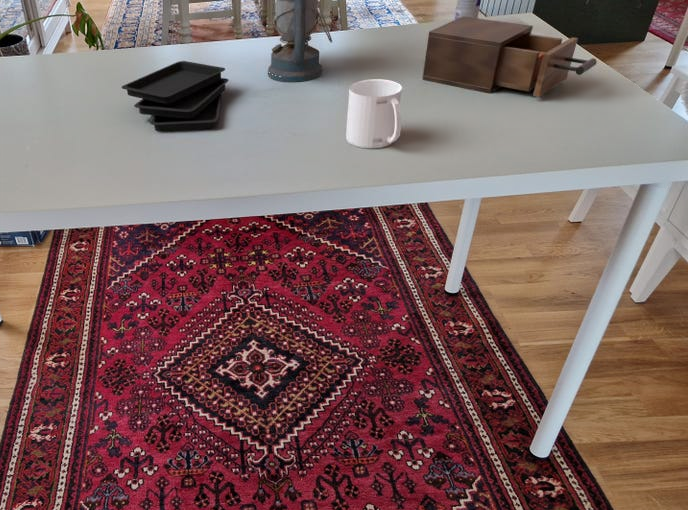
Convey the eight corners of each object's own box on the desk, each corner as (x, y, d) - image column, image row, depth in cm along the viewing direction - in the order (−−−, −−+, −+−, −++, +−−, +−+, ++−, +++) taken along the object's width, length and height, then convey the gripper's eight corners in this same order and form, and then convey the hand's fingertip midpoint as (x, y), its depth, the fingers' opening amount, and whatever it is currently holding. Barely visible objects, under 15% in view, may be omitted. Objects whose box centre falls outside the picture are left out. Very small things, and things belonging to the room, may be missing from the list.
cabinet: (521, 74, 139) (533, 25, 133) (489, 93, 132) (500, 42, 126) (454, 62, 148) (462, 16, 142) (422, 79, 141) (429, 31, 135)
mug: (338, 134, 122) (341, 83, 116) (381, 126, 123) (387, 76, 117) (365, 158, 113) (370, 105, 107) (412, 150, 114) (419, 97, 108)
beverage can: (477, 35, 163) (490, -33, 153) (455, 37, 163) (467, -31, 153) (470, 29, 167) (482, -37, 157) (449, 31, 167) (459, -35, 157)
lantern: (264, 62, 158) (263, -84, 139) (322, 58, 158) (329, -89, 138) (271, 88, 144) (270, -71, 124) (335, 84, 143) (344, -77, 123)
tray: (241, 127, 128) (240, 101, 125) (126, 140, 127) (121, 114, 124) (223, 80, 151) (221, 56, 147) (125, 90, 150) (121, 67, 146)
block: (540, 75, 132) (546, 52, 129) (530, 81, 130) (536, 58, 127) (519, 71, 135) (525, 49, 132) (509, 77, 132) (514, 54, 129)
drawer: (595, 84, 129) (608, 42, 124) (568, 102, 123) (581, 59, 118) (499, 67, 141) (507, 28, 136) (470, 83, 135) (477, 43, 130)
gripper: (592, -101, 106) (564, 8, 117) (693, -103, 100) (654, 12, 111) (599, -107, 111) (571, -2, 122) (696, -109, 105) (658, 2, 115)
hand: (611, 5), depth 116 cm, fingers open, 8 cm apart
